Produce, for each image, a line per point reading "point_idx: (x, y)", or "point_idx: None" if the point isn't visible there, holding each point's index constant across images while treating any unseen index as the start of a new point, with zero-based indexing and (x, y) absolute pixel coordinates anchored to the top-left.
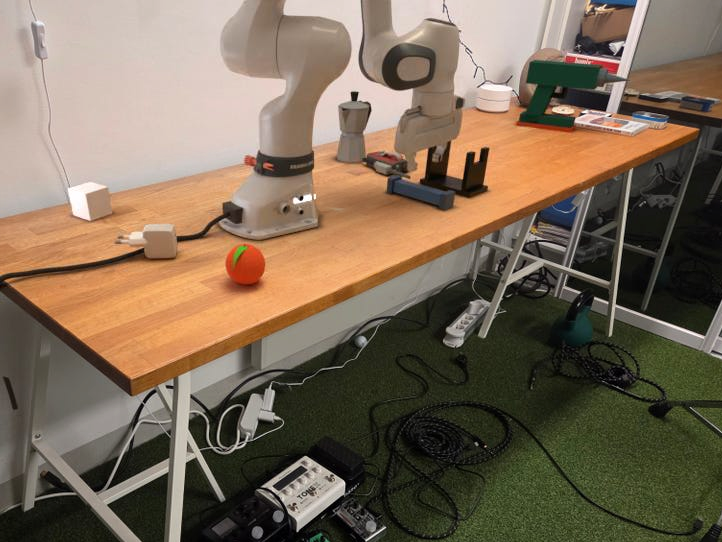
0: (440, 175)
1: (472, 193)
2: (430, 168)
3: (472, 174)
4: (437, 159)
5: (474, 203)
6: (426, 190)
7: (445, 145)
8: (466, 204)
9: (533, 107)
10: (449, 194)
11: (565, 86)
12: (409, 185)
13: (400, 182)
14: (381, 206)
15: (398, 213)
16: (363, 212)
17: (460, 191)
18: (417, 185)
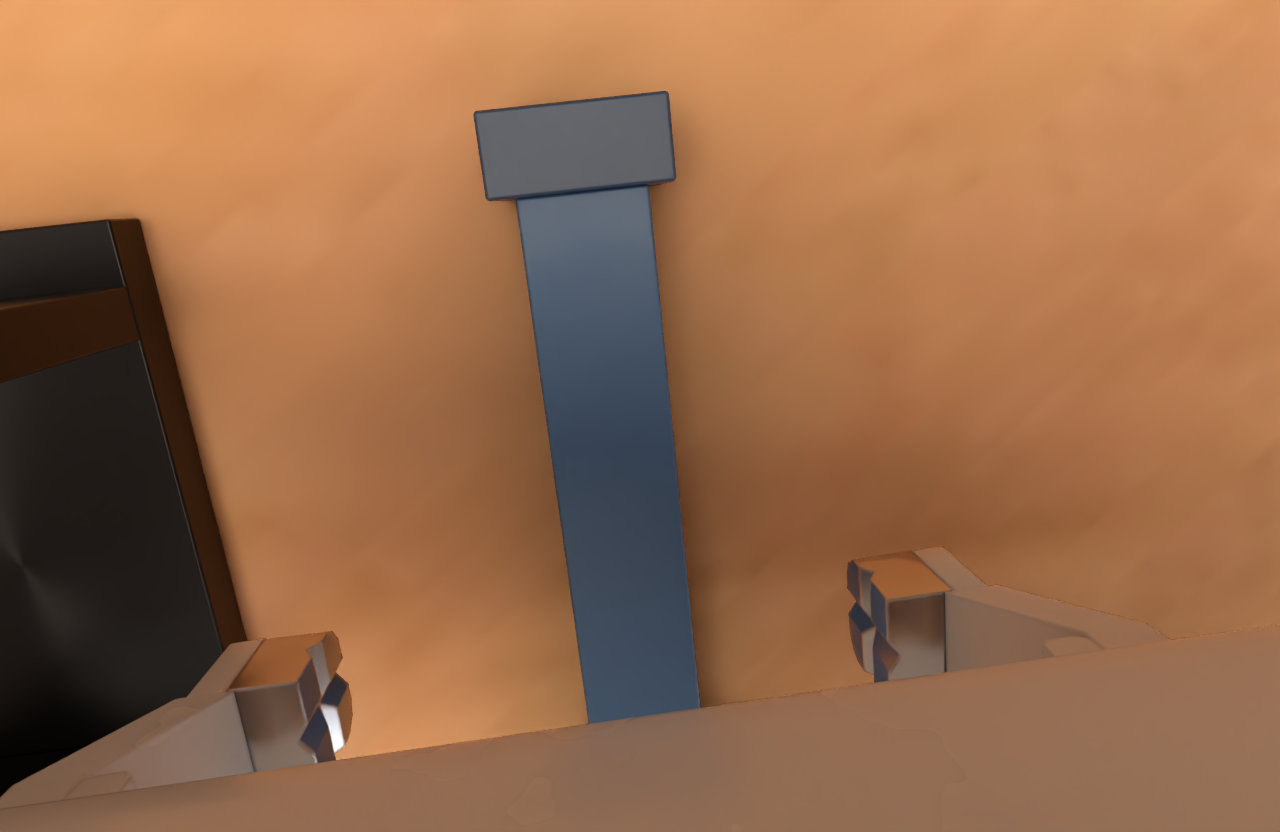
0: (22, 765)
1: (63, 225)
2: None
3: None
4: (319, 664)
5: (214, 62)
6: (667, 397)
7: (52, 795)
8: (316, 95)
9: None
10: (600, 98)
11: None
12: (685, 616)
13: None
14: (1016, 537)
15: (1048, 323)
16: (1241, 515)
17: (149, 340)
18: (617, 570)
